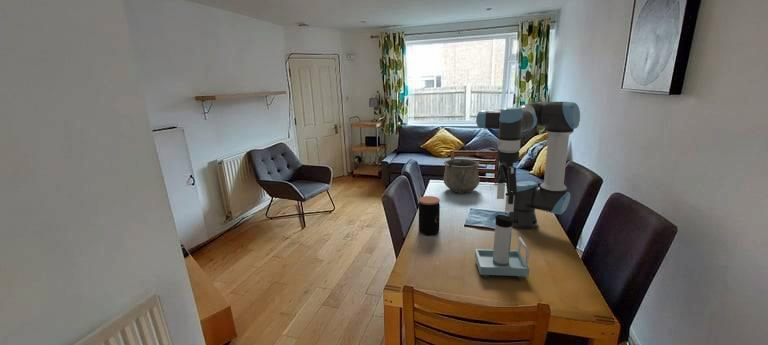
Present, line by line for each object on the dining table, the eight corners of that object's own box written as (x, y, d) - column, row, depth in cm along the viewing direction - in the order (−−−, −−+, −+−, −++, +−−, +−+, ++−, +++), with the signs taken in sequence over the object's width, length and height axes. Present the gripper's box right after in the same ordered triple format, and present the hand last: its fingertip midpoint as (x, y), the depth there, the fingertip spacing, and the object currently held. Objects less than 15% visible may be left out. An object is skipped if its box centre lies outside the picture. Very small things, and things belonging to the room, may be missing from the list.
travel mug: (489, 258, 131) (492, 213, 126) (504, 257, 132) (508, 212, 126) (495, 266, 125) (499, 220, 120) (511, 265, 126) (516, 219, 120)
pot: (443, 196, 217) (444, 166, 212) (443, 185, 240) (443, 158, 234) (481, 197, 213) (482, 166, 208) (477, 186, 236) (478, 158, 230)
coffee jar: (438, 237, 159) (439, 203, 155) (417, 235, 161) (417, 202, 157) (439, 228, 169) (440, 196, 165) (419, 226, 171) (419, 195, 167)
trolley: (517, 261, 135) (520, 235, 132) (528, 281, 122) (531, 252, 118) (474, 260, 137) (475, 234, 134) (479, 279, 124) (481, 250, 120)
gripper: (490, 144, 129) (488, 193, 134) (506, 158, 105) (502, 217, 110) (510, 144, 128) (506, 194, 133) (530, 158, 104) (524, 217, 110)
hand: (504, 204), depth 122 cm, fingers open, 13 cm apart
